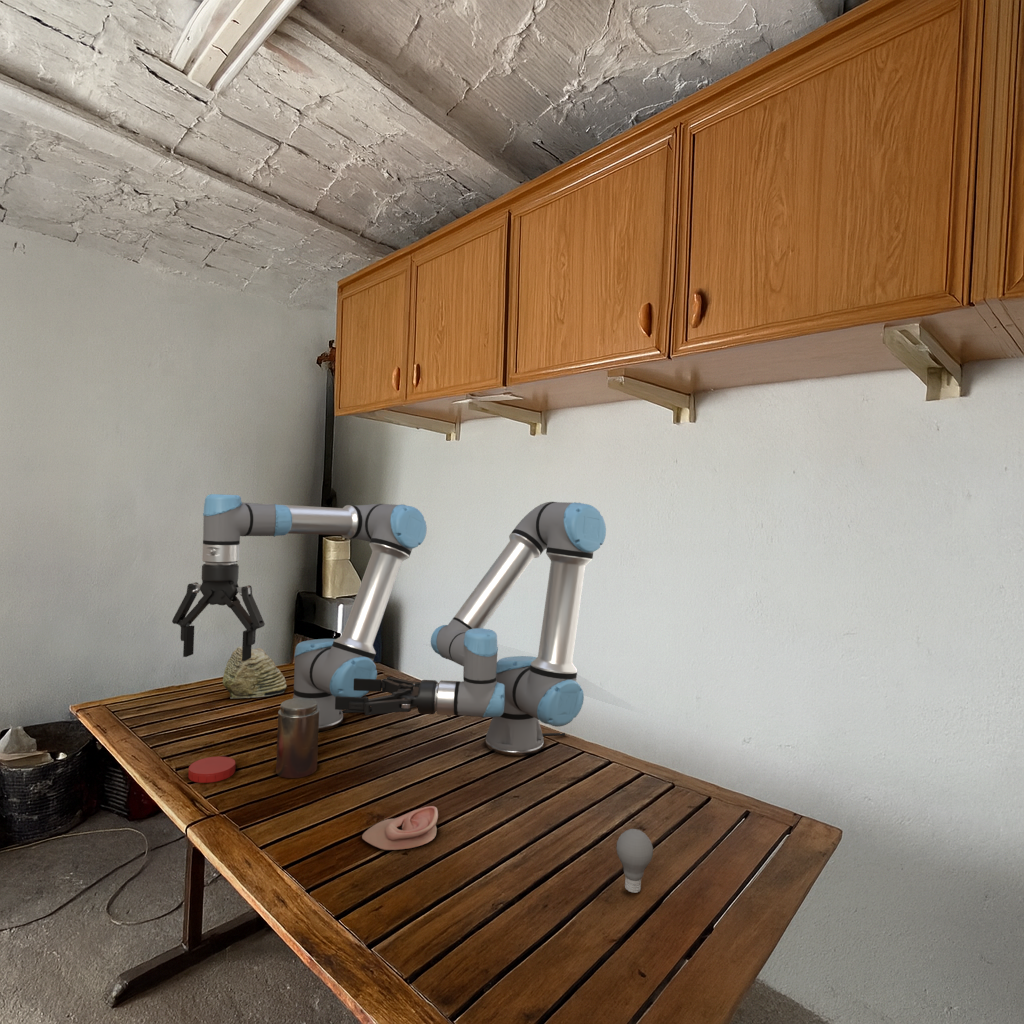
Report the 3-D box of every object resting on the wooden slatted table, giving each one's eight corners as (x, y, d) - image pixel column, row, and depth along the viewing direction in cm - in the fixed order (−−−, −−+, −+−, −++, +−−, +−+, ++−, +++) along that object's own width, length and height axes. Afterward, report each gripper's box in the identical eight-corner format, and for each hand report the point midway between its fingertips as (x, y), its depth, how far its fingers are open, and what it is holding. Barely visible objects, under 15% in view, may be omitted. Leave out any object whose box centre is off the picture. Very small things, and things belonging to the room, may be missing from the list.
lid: (178, 781, 138) (179, 772, 138) (203, 763, 148) (203, 754, 148) (220, 784, 137) (221, 775, 137) (243, 766, 147) (243, 757, 147)
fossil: (218, 695, 195) (220, 647, 195) (278, 685, 208) (279, 640, 207) (228, 703, 189) (230, 653, 188) (289, 692, 201) (290, 645, 201)
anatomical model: (355, 823, 115) (380, 795, 127) (354, 845, 116) (380, 815, 127) (424, 834, 113) (444, 804, 124) (423, 856, 113) (443, 824, 124)
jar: (270, 778, 141) (273, 709, 141) (282, 761, 150) (285, 696, 150) (311, 778, 142) (314, 710, 142) (321, 762, 151) (323, 697, 151)
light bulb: (610, 879, 108) (613, 822, 108) (644, 879, 109) (647, 822, 109) (619, 902, 102) (622, 840, 102) (655, 901, 103) (658, 840, 103)
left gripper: (156, 561, 139) (153, 657, 139) (266, 567, 137) (263, 665, 137) (177, 558, 146) (174, 650, 147) (281, 564, 145) (278, 656, 145)
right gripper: (426, 734, 132) (326, 729, 133) (444, 696, 157) (360, 692, 158) (427, 698, 132) (327, 693, 133) (445, 666, 157) (361, 662, 158)
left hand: (217, 657), depth 142 cm, fingers open, 13 cm apart
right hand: (345, 693), depth 145 cm, fingers open, 13 cm apart
